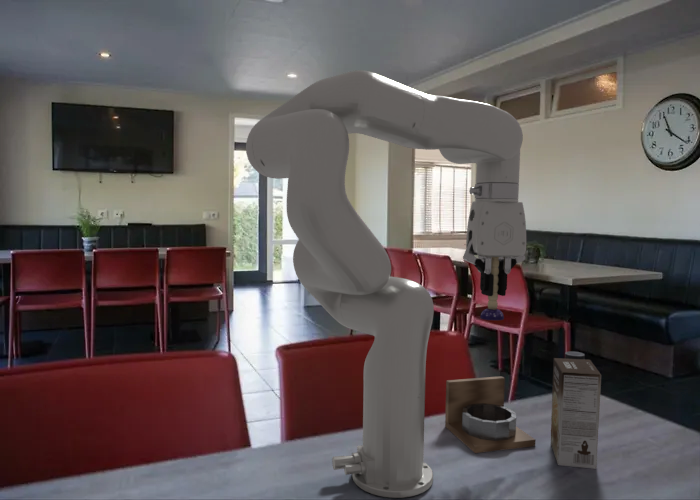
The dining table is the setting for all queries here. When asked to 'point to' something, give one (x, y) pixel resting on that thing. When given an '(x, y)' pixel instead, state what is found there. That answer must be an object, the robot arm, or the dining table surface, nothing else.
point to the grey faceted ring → (489, 422)
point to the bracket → (476, 393)
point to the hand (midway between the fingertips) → (493, 294)
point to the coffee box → (575, 412)
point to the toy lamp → (493, 296)
